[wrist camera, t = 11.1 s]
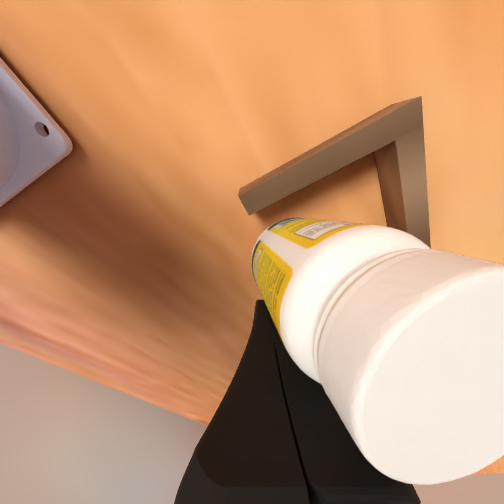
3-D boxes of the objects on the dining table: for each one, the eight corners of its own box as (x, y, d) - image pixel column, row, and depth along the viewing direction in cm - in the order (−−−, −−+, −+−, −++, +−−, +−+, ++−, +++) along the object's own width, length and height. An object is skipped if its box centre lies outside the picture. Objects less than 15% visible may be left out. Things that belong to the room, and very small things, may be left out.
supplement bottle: (289, 310, 12) (433, 535, 4) (232, 263, 11) (255, 438, 2) (344, 253, 11) (636, 361, 3) (291, 198, 10) (540, 155, 2)
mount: (239, 188, 10) (235, 213, 6) (391, 104, 8) (498, 74, 5) (323, 344, 16) (344, 399, 13) (417, 314, 15) (471, 367, 11)
